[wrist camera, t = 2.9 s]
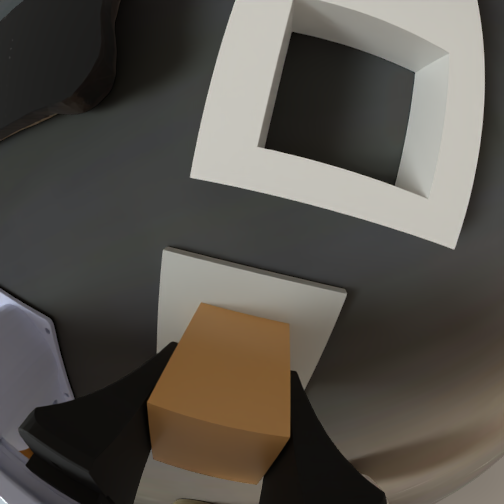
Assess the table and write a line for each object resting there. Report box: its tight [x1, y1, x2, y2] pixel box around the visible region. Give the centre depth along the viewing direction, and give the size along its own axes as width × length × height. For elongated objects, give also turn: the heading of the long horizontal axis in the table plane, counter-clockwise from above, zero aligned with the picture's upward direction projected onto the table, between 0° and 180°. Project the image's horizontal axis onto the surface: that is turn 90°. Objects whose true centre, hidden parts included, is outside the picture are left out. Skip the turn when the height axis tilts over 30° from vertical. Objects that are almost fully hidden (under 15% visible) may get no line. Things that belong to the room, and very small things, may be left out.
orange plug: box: [147, 303, 290, 485], centre depth 10 cm, size 4×4×6 cm
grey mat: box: [157, 246, 347, 390], centre depth 13 cm, size 8×8×1 cm
